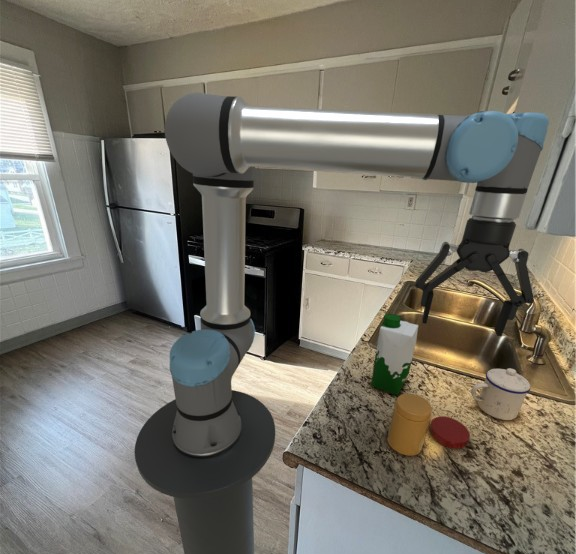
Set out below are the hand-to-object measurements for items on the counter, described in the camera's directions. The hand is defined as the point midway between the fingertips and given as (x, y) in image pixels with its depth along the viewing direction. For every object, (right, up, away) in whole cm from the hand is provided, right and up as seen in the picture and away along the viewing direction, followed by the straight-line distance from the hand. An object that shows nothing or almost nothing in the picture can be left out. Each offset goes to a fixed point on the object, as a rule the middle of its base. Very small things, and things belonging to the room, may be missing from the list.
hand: (459, 327), depth 64 cm
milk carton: (-8, -17, +23) cm, 29 cm away
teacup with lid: (+16, -21, +15) cm, 30 cm away
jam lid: (+1, -23, +6) cm, 24 cm away
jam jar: (-10, -25, +4) cm, 27 cm away
